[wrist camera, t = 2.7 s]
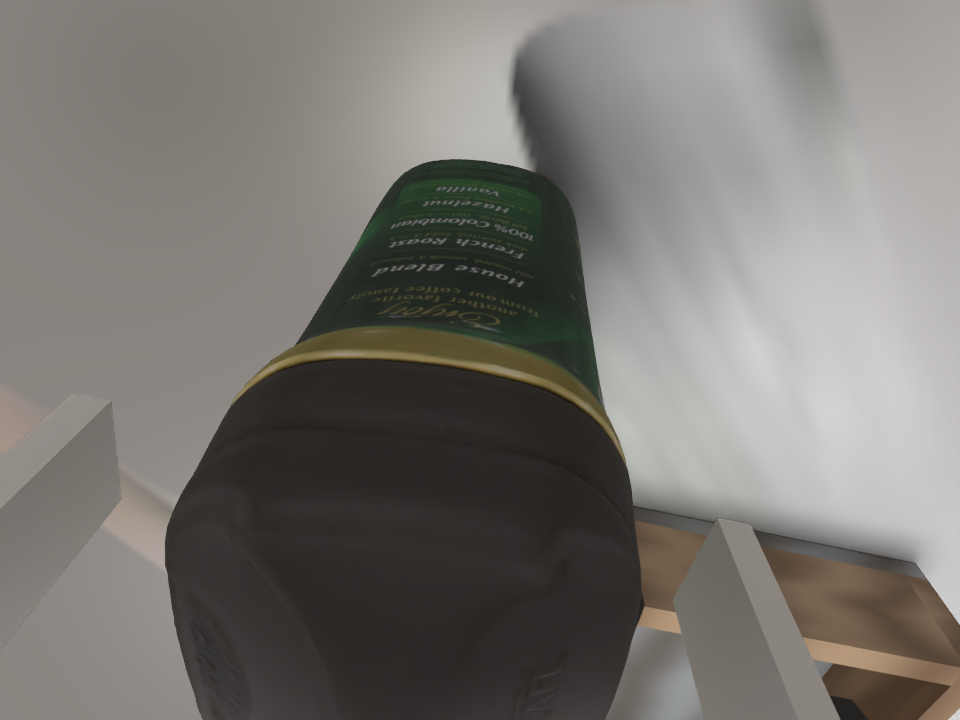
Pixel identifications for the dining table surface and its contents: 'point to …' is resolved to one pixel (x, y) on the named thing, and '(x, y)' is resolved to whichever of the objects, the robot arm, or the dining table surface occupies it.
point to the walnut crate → (801, 627)
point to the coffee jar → (420, 484)
